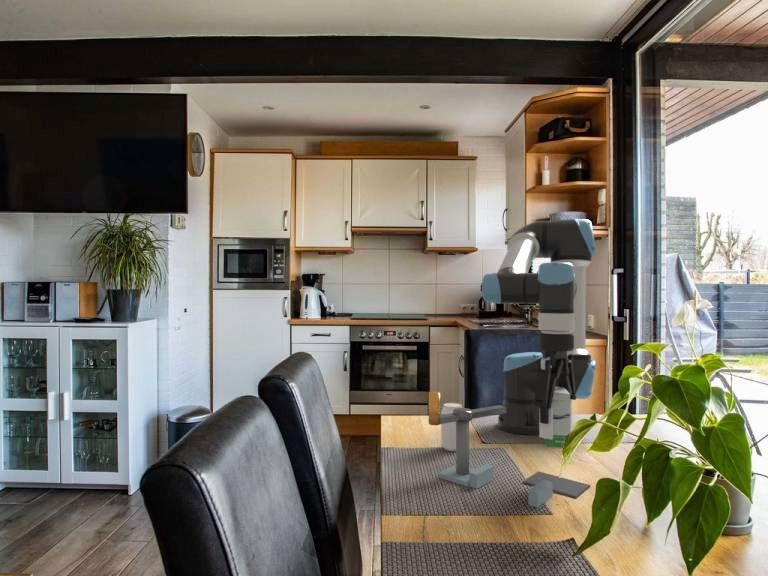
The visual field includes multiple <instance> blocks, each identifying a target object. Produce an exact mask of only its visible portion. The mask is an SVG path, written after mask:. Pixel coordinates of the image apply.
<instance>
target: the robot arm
mask: <svg viewBox="0 0 768 576" xmlns="http://www.w3.org/2000/svg"><path fill="white" fill-rule="evenodd" d="M594 235H595V234H594V229H593V224H592V221H591V220H589V219H586V218H573V219H572V218H570V219H568V218H567V219H553V220H538V221H534V222H531V223H528V224H527V225H524V226H522V227H521V228H519V229H518V230H516V231H515V232H514V233H513V234H511V237H510V238H509V240H508V242H507V247H506V249H507V252H506V253H505V256H504V258H503V260H502V262H501V264H500V267H499V268H498V270H497V272H493V273H486V274H485V275H484V276H482V282H481V292H482V294H481V295H482V298H483V301H484V302H485V303H489V304H498V305H499V304H500V305H501V304H534V305H536V304H538V312H537V313H538V316H537V317H536V320H538V330H539V331H540V332H539V333H538V338H537V339H538V340H537V342H538V345H537V346H538V349H539V350H542V351H544V355H543V353H542V352H540V351H528V352H519V353H512V354H509V355H507V356H505V358H504V360H503V368H502V372H503V403H502V406H504V407H506V413H503V414H498V417H497V427H498V428H499V429H500V430H502V431H504V432H508V433H512V434H516V435H517V434H518V435H538V436H539V437H538V438H543V439H544V438H546V439H551V440H552V439H553V408H551V404H552V399H553V394H554V389H555V387H564V388H565V389H566V390H567V391H568V392H569V394H570V430H572V429H573V427H572V425H573V422H572V421H573V418H572V417H573V416H572V415H573V411H572V410H573V408H572V406H573V405H572V403H573V402H572V400H573V401H576V400H587V399H589V398H591V396H592V393H593V388H594V380H595V374H596V373H595V371H596V366H597V361H596V360H594V359H592V354H591V352H590V351H589V350H588V349H587V348H586V322H587V321H586V314H587V313H586V301H587V300H586V299H587V298H586V297H587V296H586V295H587V294H586V288H587V287H586V286H587V285H586V283H587V282H586V280H587V279H586V276H587V275H586V271H587V268H588V267H589V266H590V265H591V264H592V258H595V257H596V256H597V250H596V243H595V236H594ZM535 259H550V262H543V263H541V264H539V266H538V272H533V273H532V272H530V268H531V266H532V263H533V261H534V260H535Z"/></svg>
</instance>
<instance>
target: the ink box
mask: <svg viewBox="0 0 768 576" xmlns="http://www.w3.org/2000/svg"><path fill="white" fill-rule="evenodd" d="M551 408H553V439H552V440H551V439H546V438H543V439H544V442H545V444H546V446H547V448H554V449H555V448H557V449H564V448H563V446H564V441H565V438H566V436H567V435H568V434H569V433H570V434H571V429H570V394H569V392H568V391H567V390H566V389H565V388H564V387H555V389H554V394H553V399H552V404H551Z"/></svg>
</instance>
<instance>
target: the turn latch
mask: <svg viewBox="0 0 768 576" xmlns="http://www.w3.org/2000/svg"><path fill="white" fill-rule="evenodd" d="M503 413H506V407H504V406H503V405H500V404H499V405H498V404H497V405H491V406H486V407H479V408H475V409H471V408H466V407H462V408H455V409H453V413H450V414H444V415H441V391H435V390H434V391H433V390H432V391H428V425H429V426H441V424H445V423H450V422H456V421H469V422H470V421H472V420H474V419H481V418H486V417H491V416H496V415H500V414H503Z"/></svg>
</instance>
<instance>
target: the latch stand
mask: <svg viewBox="0 0 768 576" xmlns="http://www.w3.org/2000/svg"><path fill="white" fill-rule="evenodd" d="M455 461H456V463H455V464H454V465H453V466H451V467H448V468H447V469H444V470H442V471H440V472H438V476H437V477H438V478H439V479H442V480H445V481H448V482H452V483H454V484H457V485H460V486H465V487H468V488H469V487H471V488H474V489H479V488H481V487H482V486H484V485H486V484H488V483H490V482H491V481H493V480H494V465H490V464H487V463H486V464H483V465H481V466H480V467H477V468H474V467H470V421H456V451H455ZM553 496H554V492H553V482H549V481H545V480H543V481H541V482H540V483H538V484H537V485H535V486H531V488H529V489H528V499H527V500H528V506H531V507H534V508H540V507H541V506H542V505H544V504H545V503H546V502H547V501H549V500H550V499H551V498H553Z"/></svg>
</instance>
